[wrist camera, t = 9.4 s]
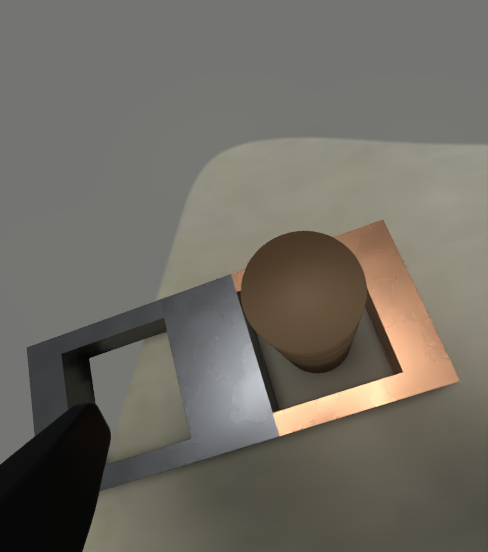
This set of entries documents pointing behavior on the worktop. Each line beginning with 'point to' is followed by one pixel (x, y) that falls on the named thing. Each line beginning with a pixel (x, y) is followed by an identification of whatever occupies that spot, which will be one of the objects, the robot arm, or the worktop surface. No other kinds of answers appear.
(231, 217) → the worktop surface
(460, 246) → the worktop surface
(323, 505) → the worktop surface
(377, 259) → the grey copper flat frame
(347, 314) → the walnut peg
